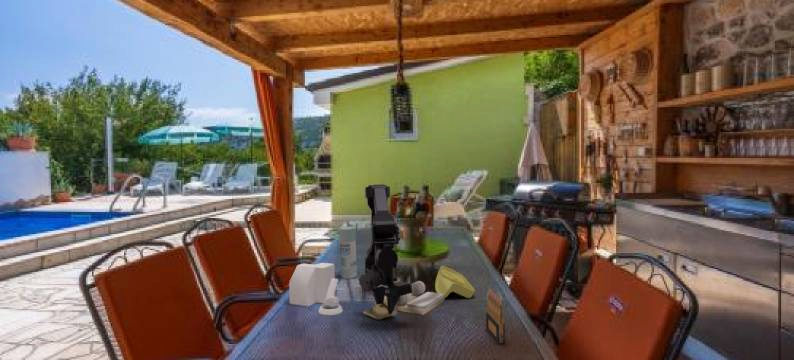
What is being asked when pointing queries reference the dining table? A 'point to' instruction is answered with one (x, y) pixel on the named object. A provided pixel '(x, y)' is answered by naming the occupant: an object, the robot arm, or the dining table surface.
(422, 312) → the hinge base
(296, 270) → the white rounded block
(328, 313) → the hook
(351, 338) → the dining table surface
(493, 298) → the ammunition clip
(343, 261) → the spray paint can
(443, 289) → the plastic component
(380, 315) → the brass cylinder with flap
